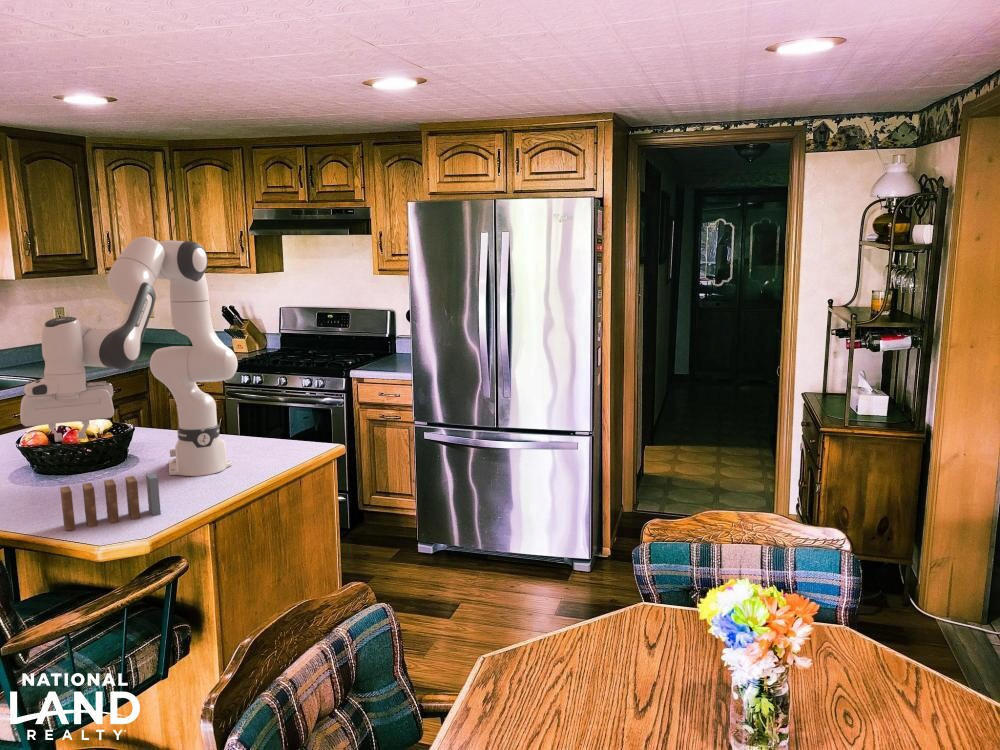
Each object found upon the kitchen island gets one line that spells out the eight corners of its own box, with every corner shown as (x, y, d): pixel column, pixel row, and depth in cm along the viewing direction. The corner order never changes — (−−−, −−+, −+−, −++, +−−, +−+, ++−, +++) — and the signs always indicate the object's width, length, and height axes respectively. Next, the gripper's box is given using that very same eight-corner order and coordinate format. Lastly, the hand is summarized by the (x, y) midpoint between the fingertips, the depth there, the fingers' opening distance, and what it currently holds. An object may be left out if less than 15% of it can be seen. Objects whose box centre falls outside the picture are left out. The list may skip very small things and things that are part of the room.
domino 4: (131, 519, 206) (128, 482, 204) (128, 513, 210) (125, 477, 208) (140, 517, 207) (137, 480, 205) (136, 512, 211) (133, 475, 209)
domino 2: (88, 527, 200) (85, 489, 198) (86, 521, 204) (82, 483, 203) (97, 525, 201) (93, 487, 200) (94, 519, 205) (91, 482, 204)
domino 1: (66, 531, 198) (62, 492, 196) (64, 525, 202) (60, 487, 200) (75, 529, 199) (71, 491, 197) (72, 523, 203) (69, 485, 201)
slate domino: (152, 515, 208) (149, 478, 207) (148, 510, 213) (145, 474, 211) (160, 514, 210) (157, 477, 208) (156, 508, 214) (153, 472, 212)
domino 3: (110, 523, 203) (107, 485, 201) (107, 517, 207) (104, 480, 205) (119, 521, 204) (115, 484, 202) (115, 516, 208) (112, 479, 206)
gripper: (110, 378, 203) (114, 432, 205) (16, 386, 191) (21, 442, 193) (114, 382, 198) (118, 436, 200) (19, 389, 186) (24, 447, 188)
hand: (70, 439), depth 197 cm, fingers open, 4 cm apart
